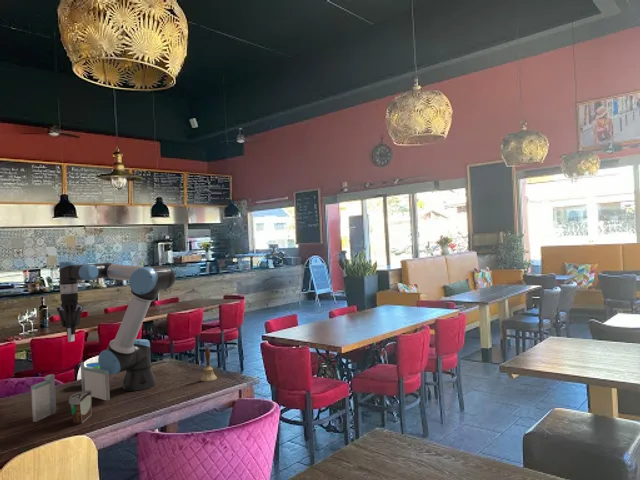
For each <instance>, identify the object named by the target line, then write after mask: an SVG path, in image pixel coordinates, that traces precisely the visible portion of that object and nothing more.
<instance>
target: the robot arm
mask: <svg viewBox="0 0 640 480" xmlns="http://www.w3.org/2000/svg"><path fill="white" fill-rule="evenodd" d="M58 271H59V284H60V285H59V287H60V289H59V290H60V291H59V292H60V293H61V294H60V302H61V303H60V306H59V307H56V311H57V313H58V314H59V315H58V316H59V320H60V323H61V326H62V327H63V328H65V329H66V335H67V342H68V343H71V342H75V340H76V339H75V336H76V327H79V326H80V321H81V317H82V311H83V309H84V306H81V305H79V302H78V301H79V293H78V291H79V287H78V281H94V280H99V279H110V280H117V281H128V282H129V287H130V293H131V295H132V296H131V298H130V300H129V303H128V306H127V308H126V311H125V314H124V315H123V318H122V320H121V322H120V325H119V328H118V331H117V333H116V335H115V338H114V339H112V340H110V341H109V344H108V346H107V348H106V349H103V350H102V351H101V352H100V353H99V354H98V358H97V362H98V363H99V366H100V368H101V369H103V370H108V371H109V373H108V374H109V376H111V375H112V376H113V375H118V374H119V373H122V372H124V371H125V375H124V378H123V382H122V390H124V391H129V392H132V391H133V392H134V391H142V390H146V389H150V388H152V387H155V386H156V384H157V383H156V378H155V375H154V373H153V371H152V361H151V358H152V356H151V343H150V340H148V339H145V338H143V339H142V338H137V337H138V335H139V332H140V330H141V328H142V325H143V322H144V320H145V318H146V315H147V313H148V310H149V308H150V306H151V303H152V302H153V301H155V300H156V299H157V297H158V294H159V293H160V292H163V291H167V290H169V289H171V288H172V286H174V283H175V281H176V274H175V270H174V269H172V268H171V267H170V266H168V265H154V266H138V265H129V264H128V265H127V264H119V263H118V264H117V263H114V262H104V263H103V262H102V263H88V264H77V261H76V260H70V261H68V260H67V261H60V262H59V268H58Z"/></svg>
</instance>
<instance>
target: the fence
mask: <svg viewBox="0 0 640 480" xmlns="http://www.w3.org/2000/svg"><path fill="white" fill-rule="evenodd" d="M86 364H87V361H82V362H80V375H81V376H80V377H81V379H80V380H81V392H82V391H85V381H84V370H83V367H86ZM55 376H56V375H55V374H47V375H45V376H44V381H41V382H38V383H36V384H33V385H31V386H30V391H31V408H32V422H35V423H36V422H39V421H41V420H43V419H44V418H47V417H49V416H51V415H54V414H56V413H57V402H56V401H57V399H56V377H55Z"/></svg>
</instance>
